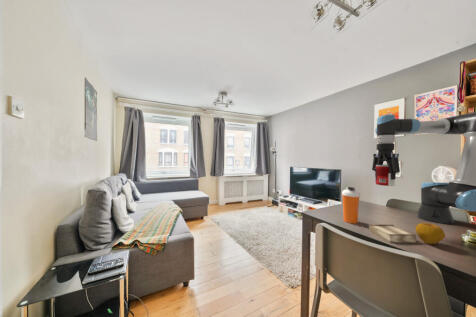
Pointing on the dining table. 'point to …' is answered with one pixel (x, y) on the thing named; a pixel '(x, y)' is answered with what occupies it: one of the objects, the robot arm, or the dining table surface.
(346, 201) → the shaker bottle
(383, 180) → the canned food
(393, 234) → the dock
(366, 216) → the dining table surface
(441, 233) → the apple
